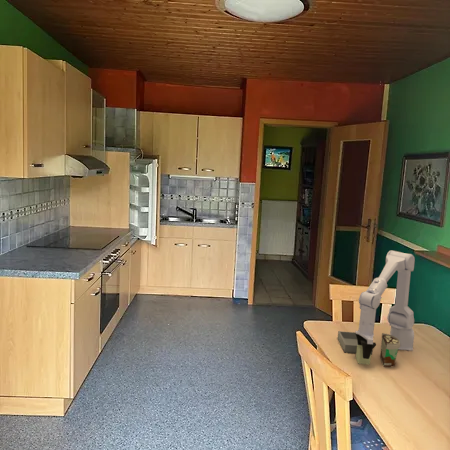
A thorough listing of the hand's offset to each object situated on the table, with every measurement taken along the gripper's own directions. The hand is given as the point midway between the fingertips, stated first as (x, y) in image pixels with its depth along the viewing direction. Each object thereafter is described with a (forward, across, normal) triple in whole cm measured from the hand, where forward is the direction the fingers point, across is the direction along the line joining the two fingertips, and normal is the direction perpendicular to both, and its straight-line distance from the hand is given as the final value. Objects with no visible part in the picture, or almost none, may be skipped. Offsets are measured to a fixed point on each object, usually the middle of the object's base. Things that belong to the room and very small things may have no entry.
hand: (363, 354), depth 173 cm
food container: (+3, -1, +11) cm, 12 cm away
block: (+3, 0, 0) cm, 3 cm away
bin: (+3, -15, 0) cm, 15 cm away
